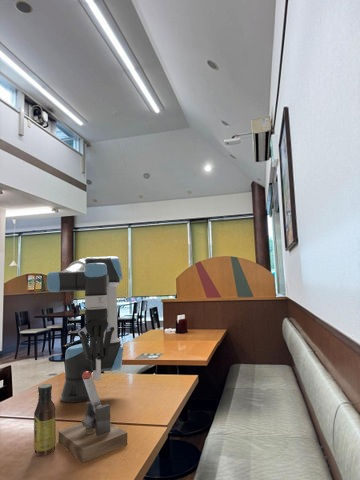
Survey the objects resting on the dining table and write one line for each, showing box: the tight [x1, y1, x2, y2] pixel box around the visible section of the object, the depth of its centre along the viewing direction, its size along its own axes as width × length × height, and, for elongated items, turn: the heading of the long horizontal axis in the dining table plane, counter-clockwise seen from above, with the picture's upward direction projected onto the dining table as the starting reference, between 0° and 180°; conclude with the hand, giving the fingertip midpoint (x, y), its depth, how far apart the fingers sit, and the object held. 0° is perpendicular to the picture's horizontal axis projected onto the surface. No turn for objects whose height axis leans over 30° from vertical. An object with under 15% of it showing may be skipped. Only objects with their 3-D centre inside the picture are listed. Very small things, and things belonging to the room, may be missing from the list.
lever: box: [80, 371, 103, 430], centre depth 107 cm, size 4×7×16 cm, turn 133°
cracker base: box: [57, 401, 129, 464], centre depth 107 cm, size 18×15×12 cm
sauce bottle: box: [33, 383, 57, 457], centre depth 103 cm, size 7×6×20 cm
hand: (96, 379), depth 110 cm, fingers closed
